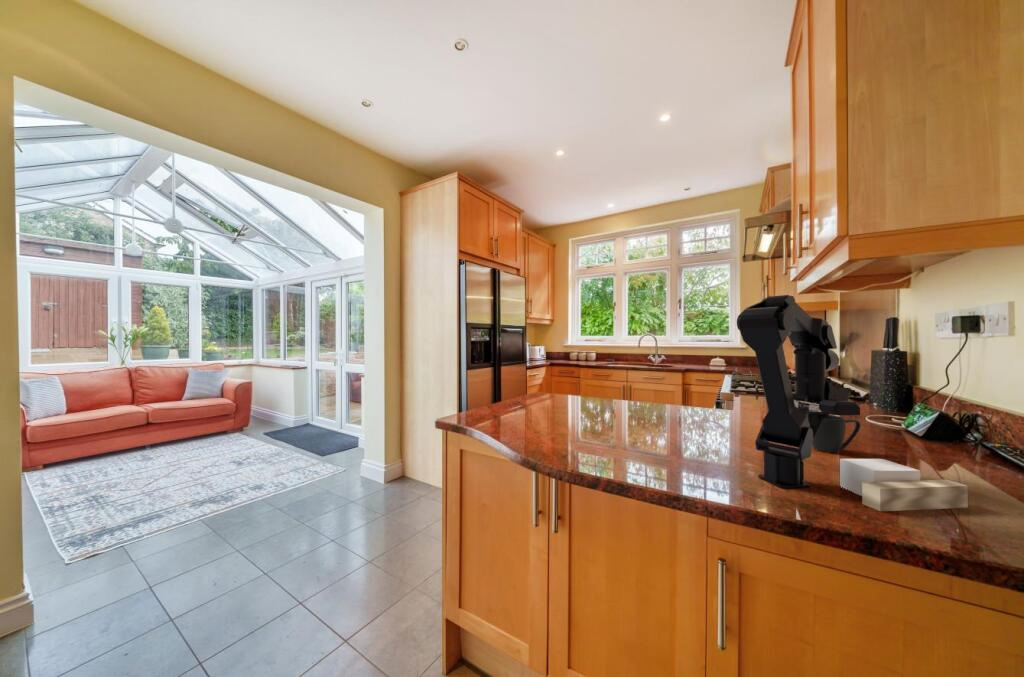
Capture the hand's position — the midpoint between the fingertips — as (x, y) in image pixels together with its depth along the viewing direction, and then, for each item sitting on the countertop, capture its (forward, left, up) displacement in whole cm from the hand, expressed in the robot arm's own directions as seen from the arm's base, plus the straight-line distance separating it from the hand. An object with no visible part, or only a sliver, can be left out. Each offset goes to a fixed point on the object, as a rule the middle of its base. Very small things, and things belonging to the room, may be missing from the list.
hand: (810, 438), depth 86 cm
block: (0, -14, -8) cm, 16 cm away
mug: (+20, +13, -8) cm, 25 cm away
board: (+1, -20, -7) cm, 21 cm away
